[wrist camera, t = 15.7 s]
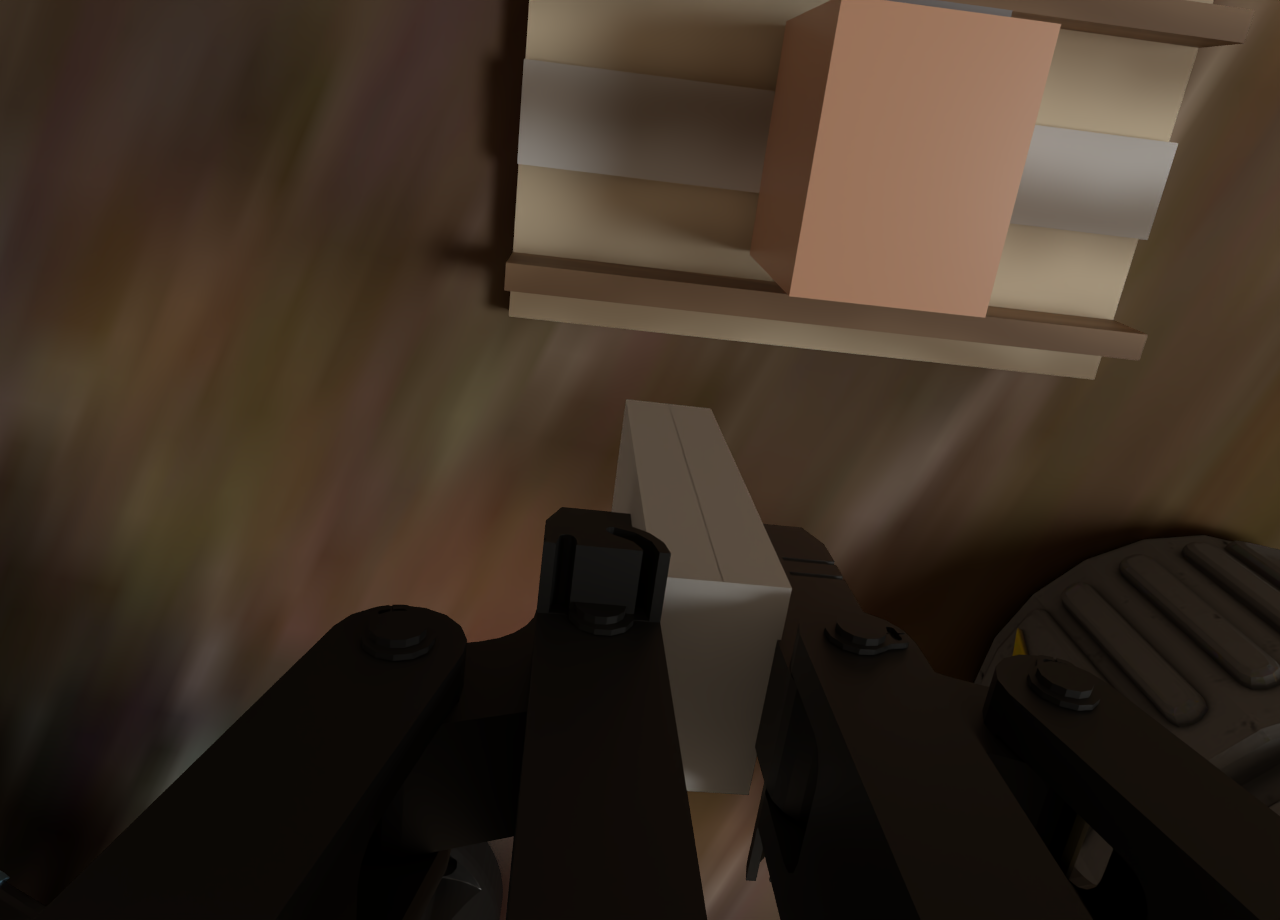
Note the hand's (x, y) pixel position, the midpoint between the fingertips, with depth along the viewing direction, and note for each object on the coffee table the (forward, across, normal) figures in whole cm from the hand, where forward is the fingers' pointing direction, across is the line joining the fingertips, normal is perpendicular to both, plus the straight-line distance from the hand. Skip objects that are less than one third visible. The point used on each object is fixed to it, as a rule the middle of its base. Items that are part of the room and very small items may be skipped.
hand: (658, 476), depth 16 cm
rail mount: (+21, -8, -6) cm, 23 cm away
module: (+19, -8, -6) cm, 22 cm away
